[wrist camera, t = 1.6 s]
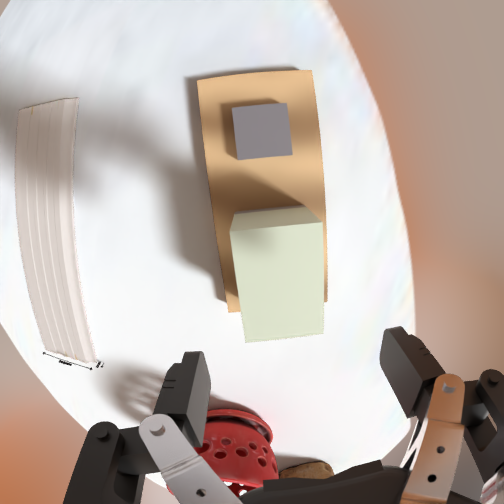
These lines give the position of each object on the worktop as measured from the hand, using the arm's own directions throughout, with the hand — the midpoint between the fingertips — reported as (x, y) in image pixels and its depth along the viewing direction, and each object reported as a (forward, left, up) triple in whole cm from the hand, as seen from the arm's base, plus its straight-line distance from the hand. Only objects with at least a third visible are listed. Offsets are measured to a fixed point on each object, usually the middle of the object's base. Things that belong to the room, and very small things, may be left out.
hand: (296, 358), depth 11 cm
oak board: (-5, 0, -14) cm, 15 cm away
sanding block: (0, 0, -13) cm, 13 cm away
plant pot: (+25, -8, -15) cm, 30 cm away
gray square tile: (-10, 0, -13) cm, 16 cm away
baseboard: (-3, -23, -15) cm, 28 cm away
